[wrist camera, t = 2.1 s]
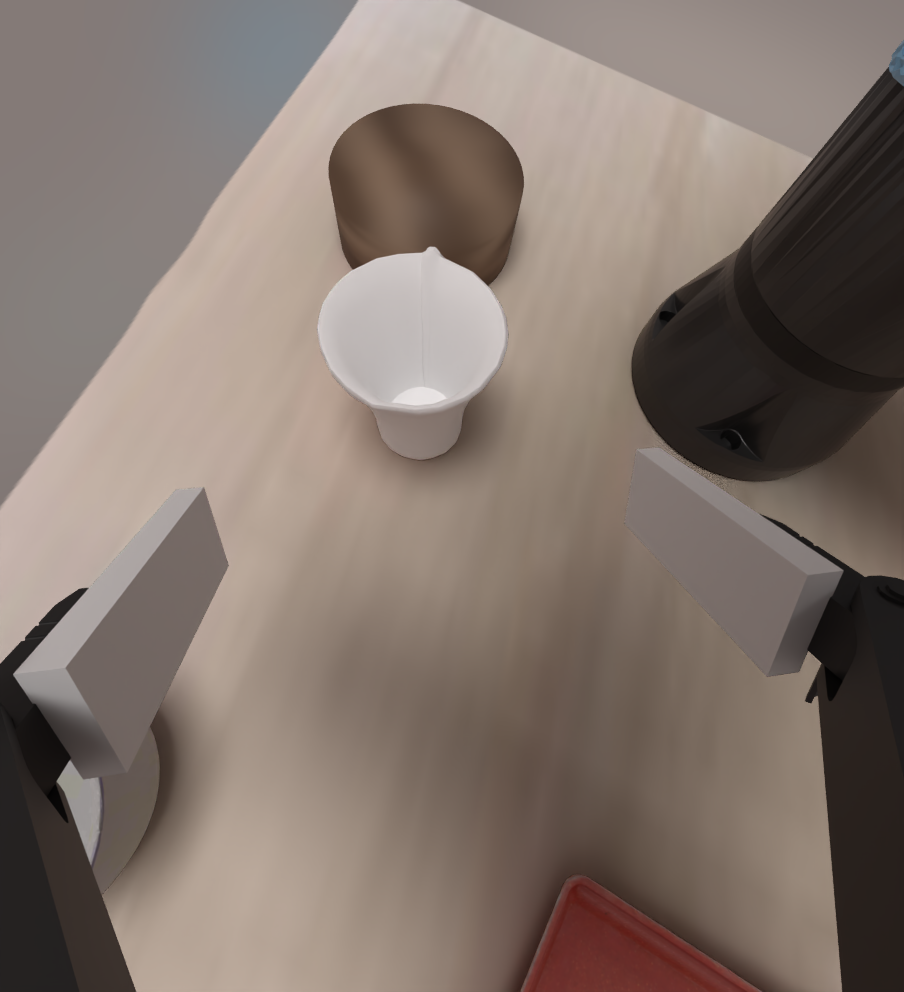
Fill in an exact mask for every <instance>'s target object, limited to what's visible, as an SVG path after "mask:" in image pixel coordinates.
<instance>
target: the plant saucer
mask: <svg viewBox="0 0 904 992" xmlns="http://www.w3.org/2000/svg"><path fill="white" fill-rule="evenodd" d="M520 992H762V991H761V990H759V989H758V988H756V987H755V986H753V985H752V984H750V983H748V982H747V981H745V980H744V979H742V978H741V977H739V976H738V975H736V974H735V973H733V972H732V971H731V970H729V969H728V968H726V967H725V966H723V965H722V964H720V963H718V962H717V961H715V960H714V959H712V958H711V957H709V956H708V955H706V954H705V953H703V952H701V951H700V950H698V949H697V948H695V947H694V946H692V945H691V944H689V943H688V942H686V941H685V940H683V939H681V938H680V937H678V936H677V935H675V934H673V933H672V932H670V931H669V930H668V929H666V928H665V927H664V926H662V925H660V924H659V923H657V922H655V921H654V920H652V919H651V918H649V917H648V916H646V915H645V914H643V913H642V912H640V911H639V910H637V909H636V908H634V907H633V906H631V905H630V904H628V903H627V902H625V901H624V900H622V899H621V898H619V897H618V896H616V895H615V894H614V893H612V892H610V891H609V890H607V889H605V888H604V887H602V886H601V885H600V884H598V883H597V882H595V881H593V880H592V879H590V878H588V877H587V876H584V875H581V874H578V875H572V876H570V877H569V878H568V879H567V880H566V881H565V882H564V884H563V886H562V888H561V891H560V893H559V896H558V899H557V901H556V904H555V906H554V908H553V911H552V913H551V916H550V918H549V921H548V923H547V926H546V928H545V931H544V933H543V936H542V938H541V941H540V943H539V946H538V948H537V951H536V953H535V956H534V958H533V961H532V963H531V966H530V968H529V971H528V973H527V976H526V978H525V981H524V983H523V985H522V988H521V991H520Z"/></svg>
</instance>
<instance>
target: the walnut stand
mask: <svg viewBox="0 0 904 992" xmlns="http://www.w3.org/2000/svg"><path fill="white" fill-rule="evenodd" d="M329 180H330V185H331V191H332V196H333V202H334V207H335V212H336V218H337V223H338V229H339V234H340V239H341V244H342V249H343V252H344V255H345V257H346V259H347V261H348V263H349V264H350V266H351V267H352V269H353V270H354V269H356V268H358V267H360V266H362V265H364V264H366V263H368V262H370V261H372V260H374V259H376V258H381V257H386V256H391V255H396V254H407V253H423V252H424V251H426V250H427V248H428V247H436V248H437V249H438V251H439V252H440V254H441V255H442V256H443V257H444V258H445V259H448V260H450V261H452V262H454V263H456V264H458V265H460V266H462V267H464V268H466V269H468V270H470V271H472V272H474V273H475V274H476V275H477V276H478V277H479V278H480V279H481V280H482V281H483V282H484V283H485V284H486V285H487V286H488V285H489V284H490V283H491V282H492V281H493V280H494V279H495V278H496V277H497V276H498V274H499V273H500V272H501V270H502V268H503V266H504V265H505V262H506V259H507V256H508V253H509V249H510V244H511V240H512V236H513V232H514V228H515V224H516V219H517V215H518V211H519V207H520V203H521V198H522V194H523V188H524V176H523V171H522V166H521V164H520V161H519V158H518V156H517V155H516V153H515V151H514V149H513V148H512V147H511V145H510V144H509V142H508V141H507V140H506V139H505V138H504V137H503V136H502V135H501V134H500V133H499V132H498V131H496V130H495V129H494V128H493V127H491V126H490V125H488V124H487V123H485V122H484V121H482V120H480V119H478V118H476V117H475V116H473V115H470V114H468V113H465V112H463V111H460V110H456V109H453V108H450V107H445V106H440V105H432V104H404V105H397V106H392V107H388V108H384V109H381V110H378V111H375V112H373V113H370V114H368V115H366V116H365V117H363V118H361V119H359V120H358V121H356V122H355V123H354V124H352V125H351V126H350V127H349V128H348V129H347V130H346V131H345V132H344V133H343V134H342V135H341V136H340V138H339V139H338V140H337V142H336V144H335V146H334V148H333V150H332V153H331V156H330V161H329Z"/></svg>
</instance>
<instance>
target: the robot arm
mask: <svg viewBox="0 0 904 992" xmlns="http://www.w3.org/2000/svg"><path fill="white" fill-rule="evenodd" d="M632 374H633V381H634V386H635V390H636V394H637V396H638V399H639V402H640V404H641V406H642V408H643V410H644V412H645V414H646V416H647V417H648V419H649V421H650V422H651V423H652V425H653V426H654V428H655V429H656V430H657V431H658V433H659V434H660V435H661V436H662V437H663V438H664V439H665V440H666V441H667V442H668V443H669V444H670V445H671V446H672V447H673V448H674V449H675V450H677V451H678V452H679V453H681V454H682V455H683V456H685V457H686V458H688V459H689V460H691V461H692V462H694V463H696V464H697V465H699V466H701V467H703V468H705V469H707V470H710V471H712V472H714V473H717V474H720V475H723V476H727V477H730V478H735V479H740V480H748V481H767V480H775V479H780V478H784V477H787V476H790V475H793V474H795V473H797V472H799V471H802V470H804V469H806V468H808V467H810V466H813V465H815V464H817V463H819V462H821V461H823V460H825V459H826V458H828V457H829V456H831V455H832V454H834V453H835V452H837V451H838V450H839V449H840V448H841V447H842V446H843V445H844V444H845V443H846V442H847V441H848V440H849V439H850V438H851V437H852V436H853V435H854V434H855V433H856V432H857V431H858V430H859V429H860V428H861V427H862V426H863V425H864V424H865V423H866V422H867V421H868V420H869V419H870V418H871V417H872V416H873V415H874V414H875V413H876V412H877V411H878V410H879V409H880V408H881V407H882V406H883V405H884V404H885V403H886V402H887V401H888V400H889V399H890V398H891V397H892V396H893V395H894V394H895V393H896V392H897V391H898V390H899V389H901V388H903V387H904V40H903V41H902V43H901V44H900V45H899V47H898V48H897V49H896V51H895V52H894V53H893V55H892V60H891V62H890V64H889V67H888V69H887V70H886V71H885V72H884V73H883V75H882V76H881V77H880V78H879V79H878V81H877V82H876V83H875V84H874V86H873V87H872V88H871V89H870V91H869V92H868V93H867V94H866V95H865V96H864V98H863V99H862V100H861V101H860V103H859V104H858V105H857V106H856V108H855V109H854V110H853V111H852V112H851V114H850V115H849V116H848V117H847V118H846V120H845V121H844V122H843V123H842V125H841V126H840V127H839V128H838V129H837V131H836V132H835V133H834V134H833V136H832V137H831V138H830V139H829V140H828V142H827V143H826V144H825V145H824V147H823V148H822V149H821V150H820V151H819V153H818V154H817V155H816V156H815V158H814V159H813V160H812V161H811V162H810V164H809V165H808V166H807V167H806V169H805V170H804V171H803V172H802V173H801V175H800V176H799V177H798V178H797V180H796V181H795V182H794V183H793V184H792V186H791V187H790V188H789V189H788V190H787V192H786V193H785V194H784V195H783V196H782V198H781V199H780V200H779V201H778V202H777V204H776V205H775V206H774V207H773V208H772V209H771V211H770V212H769V213H768V214H767V215H766V217H765V218H764V219H763V220H762V222H761V223H760V224H759V226H758V227H757V228H756V229H755V230H754V232H753V233H752V234H751V235H750V236H749V238H748V239H747V240H746V241H745V242H744V244H743V245H742V246H741V247H740V248H739V249H738V250H736V251H735V252H733V253H732V254H730V255H729V256H727V257H726V258H724V259H723V260H721V261H720V262H718V263H717V264H715V265H714V266H712V267H711V268H709V269H708V270H706V271H705V272H703V273H702V274H700V275H699V276H697V277H696V278H694V279H693V280H691V281H690V282H688V283H687V284H685V285H684V286H682V287H681V288H680V289H678V290H677V291H675V292H674V293H673V294H671V295H670V296H669V297H668V298H667V299H666V300H665V301H664V302H663V303H662V304H661V305H660V306H659V308H658V309H657V310H656V312H655V313H654V314H653V316H652V317H651V319H650V320H649V321H648V323H647V324H646V325H645V327H644V328H643V330H642V331H641V333H640V335H639V337H638V339H637V342H636V345H635V348H634V353H633V360H632ZM624 524H625V525H626V526H627V527H628V528H629V529H630V530H631V531H632V532H633V534H634V535H635V536H636V537H637V538H638V539H639V540H640V541H641V542H642V543H643V544H644V545H645V546H646V547H647V549H648V550H649V551H650V552H651V553H652V554H653V555H654V556H655V557H656V558H657V559H658V560H659V561H660V562H661V564H662V565H663V566H664V567H665V568H666V569H667V570H668V571H669V572H670V573H671V574H672V575H673V576H674V577H675V579H676V580H677V581H678V582H679V583H680V584H681V585H682V586H683V587H684V588H685V589H686V590H687V591H688V592H689V594H690V595H691V596H692V597H693V598H694V599H695V600H696V601H697V602H698V603H699V604H700V605H701V606H702V607H703V609H704V610H705V611H706V612H707V613H708V614H709V615H710V616H711V617H712V618H713V619H714V620H715V621H716V623H717V624H718V625H719V626H720V627H721V628H722V629H723V630H724V631H725V632H726V633H727V634H728V635H729V636H730V638H731V639H732V640H733V641H734V642H735V643H736V644H737V645H738V646H739V647H740V648H741V649H742V650H743V651H744V653H745V654H746V655H747V656H748V657H749V658H750V659H751V660H752V661H753V662H754V663H755V664H756V665H757V666H758V668H759V669H760V670H761V671H762V672H763V673H764V674H765V675H766V676H767V677H769V676H776V675H782V674H789V673H796V672H799V671H800V668H801V666H802V664H803V661H804V659H805V657H806V655H807V652H808V651H809V652H810V653H811V654H812V655H814V656H815V657H816V658H817V659H818V660H819V661H820V662H821V663H822V664H821V666H820V668H819V670H818V672H817V674H816V677H815V679H814V681H813V683H812V685H811V687H810V689H809V692H808V694H807V696H806V700H805V701H806V702H808V703H812V701H813V699H814V697H815V696H818V702H819V714H820V726H821V738H822V750H823V762H824V775H825V787H826V799H827V811H828V823H829V836H830V848H831V860H832V872H833V884H834V896H835V909H836V921H837V933H838V945H839V957H840V969H841V982H842V992H904V580H901V579H898V578H893V577H886V576H868V577H864V576H863V575H861V574H860V573H858V572H856V571H855V570H853V569H852V568H850V567H849V566H847V565H846V564H844V563H843V562H841V561H840V560H838V559H836V558H835V557H833V556H832V555H830V554H829V553H827V552H826V551H824V550H823V549H821V548H820V547H818V546H814V545H813V543H812V542H810V541H809V540H807V539H806V538H804V537H800V536H799V534H798V533H797V532H795V531H794V530H792V529H790V528H789V527H787V526H786V525H784V524H783V523H781V522H778V521H776V520H773V519H771V518H768V517H766V516H764V515H761V514H758V513H757V512H755V511H754V510H752V509H751V508H749V507H748V506H746V505H745V504H743V503H742V502H740V501H739V500H737V499H736V498H734V497H733V496H731V495H730V494H728V493H727V492H725V491H724V490H722V489H721V488H719V487H718V486H716V485H715V484H713V483H712V482H710V481H709V480H707V479H706V478H704V477H703V476H701V475H700V474H698V473H697V472H695V471H694V470H692V469H691V468H689V467H688V466H686V465H685V464H683V463H682V462H680V461H679V460H677V459H676V458H674V457H673V456H671V455H670V454H668V453H667V452H665V451H664V450H662V449H661V448H659V447H656V448H645V449H636V455H635V461H634V467H633V473H632V479H631V485H630V492H629V498H628V504H627V510H626V516H625V522H624ZM228 566H229V565H228V562H227V559H226V556H225V552H224V549H223V546H222V543H221V540H220V536H219V533H218V530H217V527H216V524H215V520H214V517H213V514H212V511H211V508H210V505H209V501H208V498H207V495H206V492H205V489H204V487H200V488H188V489H177V490H175V491H174V492H173V493H172V495H171V496H170V497H169V498H168V499H167V500H166V501H165V502H164V504H163V505H162V506H161V507H160V508H159V509H158V510H157V512H156V513H155V514H154V515H153V516H152V517H151V518H150V519H149V521H148V522H147V523H146V524H145V525H144V526H143V527H142V529H141V530H140V531H139V532H138V533H137V534H136V535H135V536H134V538H133V539H132V540H131V541H130V542H129V543H128V544H127V546H126V547H125V548H124V549H123V550H122V551H121V552H120V554H119V555H118V556H117V557H116V558H115V559H114V560H113V561H112V563H111V564H110V565H109V566H108V567H107V568H106V569H105V571H104V572H103V573H102V574H101V575H100V576H99V577H98V578H97V580H96V581H95V582H94V583H93V584H92V585H91V586H90V588H82V589H78V590H77V591H75V592H74V593H72V594H71V595H69V596H68V597H66V598H65V599H63V600H62V601H60V602H59V603H58V604H56V605H55V606H54V607H53V608H52V609H51V610H50V611H49V612H48V613H47V614H46V616H45V617H44V618H43V619H42V620H41V621H40V622H39V626H35V627H34V628H33V629H32V630H31V632H30V633H29V634H28V635H27V636H26V637H25V641H21V642H20V643H19V644H18V645H17V646H16V648H15V649H14V650H13V651H12V652H11V653H10V654H9V655H8V656H7V657H6V658H5V659H4V660H3V661H2V663H1V664H0V992H136V990H135V987H134V984H133V982H132V979H131V976H130V973H129V970H128V968H127V965H126V962H125V959H124V956H123V954H122V951H121V948H120V945H119V943H118V940H117V937H116V934H115V931H114V929H113V926H112V923H111V920H110V917H109V915H108V912H107V909H106V906H105V904H104V901H103V898H102V895H101V892H100V890H99V887H98V884H97V881H96V878H95V876H94V873H93V870H92V867H91V865H90V862H89V859H88V856H87V853H86V851H85V848H84V845H83V842H82V839H81V837H80V834H79V831H78V828H77V826H76V823H75V820H74V817H73V814H72V812H71V809H70V806H69V803H68V800H67V798H66V795H65V792H64V791H63V789H62V788H61V786H60V785H59V784H58V782H57V780H58V778H59V777H60V775H61V774H62V772H63V770H64V769H65V767H66V765H67V764H68V762H69V761H71V762H72V764H73V765H74V767H75V768H76V770H77V771H78V773H79V774H80V776H81V777H82V779H83V780H84V779H91V778H97V777H104V776H111V775H117V774H124V773H127V772H128V770H129V768H130V766H131V764H132V762H133V760H134V758H135V756H136V754H137V752H138V750H139V748H140V746H141V744H142V742H143V740H144V738H145V736H146V734H147V731H148V729H149V727H150V725H151V723H152V721H153V719H154V717H155V715H156V713H157V711H158V709H159V707H160V705H161V703H162V701H163V699H164V697H165V695H166V693H167V691H168V689H169V687H170V685H171V682H172V680H173V678H174V676H175V674H176V672H177V670H178V668H179V666H180V664H181V662H182V660H183V658H184V656H185V654H186V652H187V650H188V648H189V646H190V644H191V642H192V640H193V638H194V635H195V633H196V631H197V629H198V627H199V625H200V623H201V621H202V619H203V617H204V615H205V613H206V611H207V609H208V607H209V605H210V603H211V601H212V599H213V597H214V595H215V593H216V591H217V589H218V586H219V584H220V582H221V580H222V578H223V576H224V574H225V572H226V570H227V568H228Z"/></svg>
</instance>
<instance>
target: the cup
mask: <svg viewBox="0 0 904 992" xmlns="http://www.w3.org/2000/svg"><path fill="white" fill-rule="evenodd" d="M317 333H318V339H319V345H320V350H321V354H322V356H323V358H324V360H325V362H326V364H327V366H328V368H329V370H330V372H331V374H332V377H333V378H334V379H335V380H336V381H337V382H338V383H339V384H340V385H341V386H342V387H343V388H344V390H345V391H346V392H347V393H348V394H349V395H351V396H352V397H353V398H355V399H356V400H358V401H360V402H362V403H364V404H366V405H367V406H368V407H369V408H370V409H371V410H372V411H373V413H374V415H375V417H376V420H377V426H378V429H379V432H380V434H381V437H382V440H383V441H384V442H385V443H386V444H387V446H388V447H389V448H390V449H391V450H392V451H394V452H396V453H398V454H399V455H401V456H403V457H407V458H411V459H416V460H425V459H430V458H434V457H436V456H439V455H441V454H444V453H446V452H447V451H448V450H449V449H450V448H451V447H452V446H453V445H454V444H455V443H456V442H457V439H458V437H459V434H460V431H461V426H462V417H463V413H464V409H465V407H466V406H467V405H468V403H469V401H470V399H472V398H473V397H474V396H476V395H477V394H478V393H479V392H481V391H482V390H483V389H484V388H485V387H486V386H487V384H488V383H489V382H490V380H491V379H492V378H493V376H494V375H495V374H496V372H497V371H498V370H499V368H500V367H501V365H502V362H503V359H504V356H505V352H506V349H507V344H508V335H509V333H508V326H507V319H506V316H505V313H504V311H503V308H502V306H501V304H500V302H499V301H498V299H497V297H496V296H495V294H494V293H493V291H492V290H491V288H489V287H488V286H487V285H486V284H485V283H484V282H483V281H482V280H481V279H480V278H479V277H478V276H477V275H476V274H475V273H474V272H472V271H470V270H468V269H466V268H464V267H462V266H460V265H458V264H456V263H454V262H452V261H450V260H448V259H445V258H444V257H443V256H442V255H441V254H440V252H439V251H438V249H437V248H436V247H428V248H427V250H426V251H424V252H423V253H407V254H396V255H391V256H386V257H381V258H376V259H374V260H372V261H370V262H368V263H366V264H364V265H362V266H360V267H358V268H356V269H354V270H352V271H350V272H349V273H348V274H347V275H345V276H344V277H343V278H342V279H340V280H339V281H338V282H337V284H336V285H335V286H334V287H333V288H332V290H331V291H330V293H329V294H328V296H327V297H326V299H325V301H324V302H323V305H322V308H321V311H320V314H319V319H318V326H317Z"/></svg>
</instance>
